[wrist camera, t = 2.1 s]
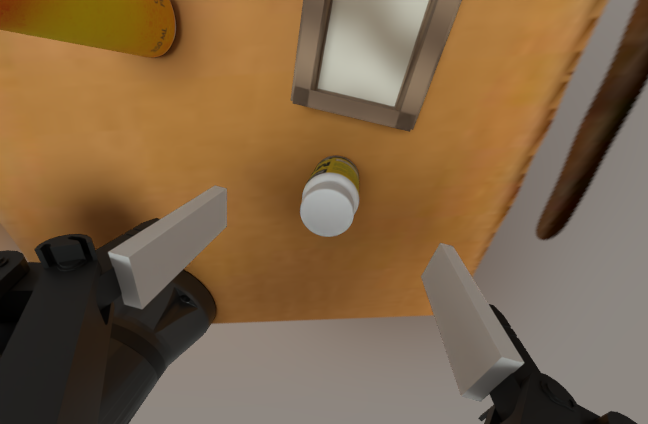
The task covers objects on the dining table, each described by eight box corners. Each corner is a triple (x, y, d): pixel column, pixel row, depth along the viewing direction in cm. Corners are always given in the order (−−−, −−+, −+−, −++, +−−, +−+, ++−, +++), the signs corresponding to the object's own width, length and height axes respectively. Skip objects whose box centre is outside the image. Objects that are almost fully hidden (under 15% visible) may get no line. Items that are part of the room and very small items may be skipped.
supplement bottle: (329, 145, 23) (316, 169, 15) (368, 171, 23) (374, 207, 16) (305, 183, 25) (283, 220, 17) (341, 206, 25) (335, 251, 18)
